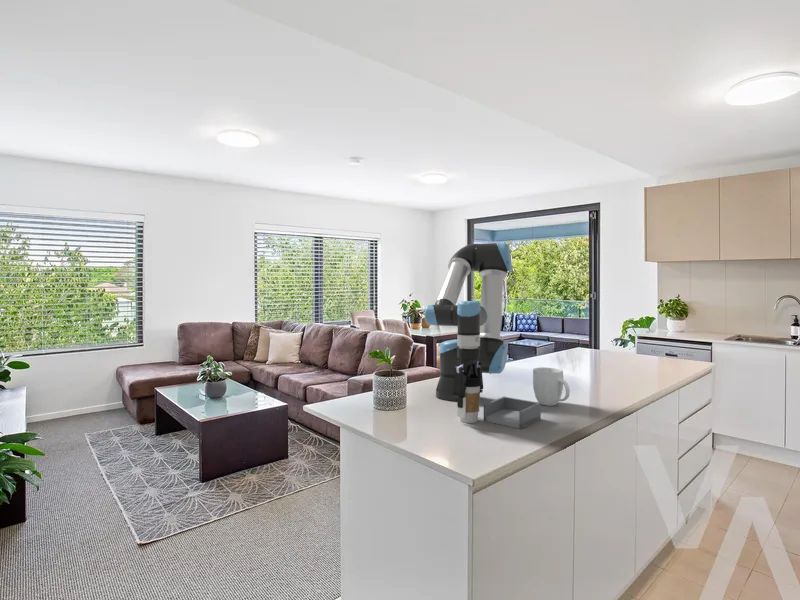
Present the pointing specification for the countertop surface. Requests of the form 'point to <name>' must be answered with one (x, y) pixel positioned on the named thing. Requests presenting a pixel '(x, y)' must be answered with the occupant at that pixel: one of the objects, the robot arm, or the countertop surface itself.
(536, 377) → the mug
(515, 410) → the dock
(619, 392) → the countertop surface
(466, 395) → the coffee cup
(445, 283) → the robot arm
